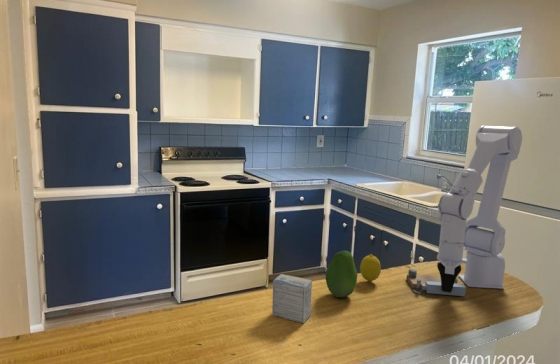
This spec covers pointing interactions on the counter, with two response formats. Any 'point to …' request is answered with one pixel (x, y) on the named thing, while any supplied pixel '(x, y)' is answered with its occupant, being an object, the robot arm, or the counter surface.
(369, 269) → the lemon
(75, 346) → the counter surface
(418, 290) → the pivot pin
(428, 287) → the hinged leg
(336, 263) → the avocado
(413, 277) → the board
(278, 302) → the medicine box
